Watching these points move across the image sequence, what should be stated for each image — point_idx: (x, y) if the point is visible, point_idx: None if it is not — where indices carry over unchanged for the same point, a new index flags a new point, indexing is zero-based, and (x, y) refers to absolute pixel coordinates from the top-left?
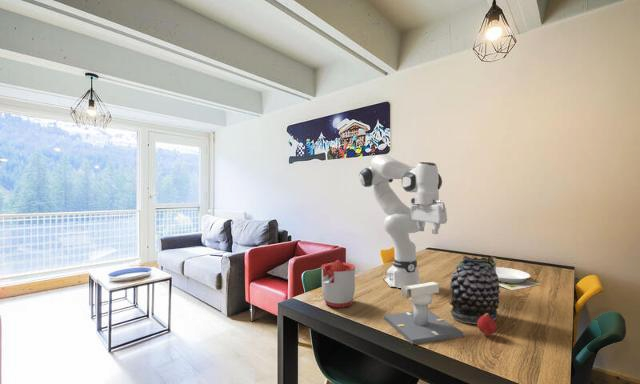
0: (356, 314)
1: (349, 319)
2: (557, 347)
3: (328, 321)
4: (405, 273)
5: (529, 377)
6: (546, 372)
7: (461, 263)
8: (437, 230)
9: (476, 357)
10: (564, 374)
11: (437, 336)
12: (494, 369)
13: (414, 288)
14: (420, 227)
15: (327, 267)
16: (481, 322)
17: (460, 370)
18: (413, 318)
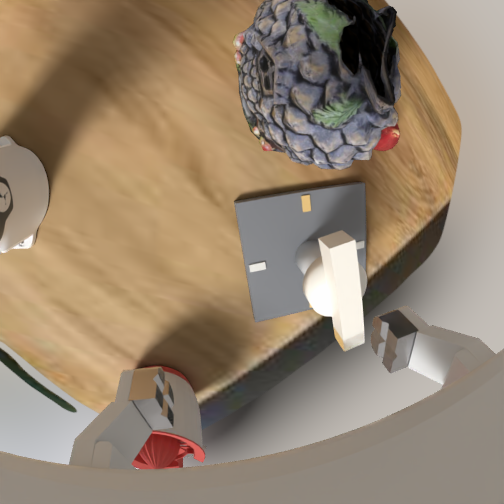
0: (222, 362)
1: (245, 373)
2: (411, 47)
3: (249, 399)
4: (14, 214)
5: (455, 167)
6: (453, 134)
7: (349, 110)
8: (424, 328)
9: (415, 205)
10: (458, 116)
11: (365, 244)
12: (438, 199)
13: (362, 322)
14: (170, 427)
15: (138, 458)
16: (388, 148)
17: (427, 247)
18: (284, 263)
